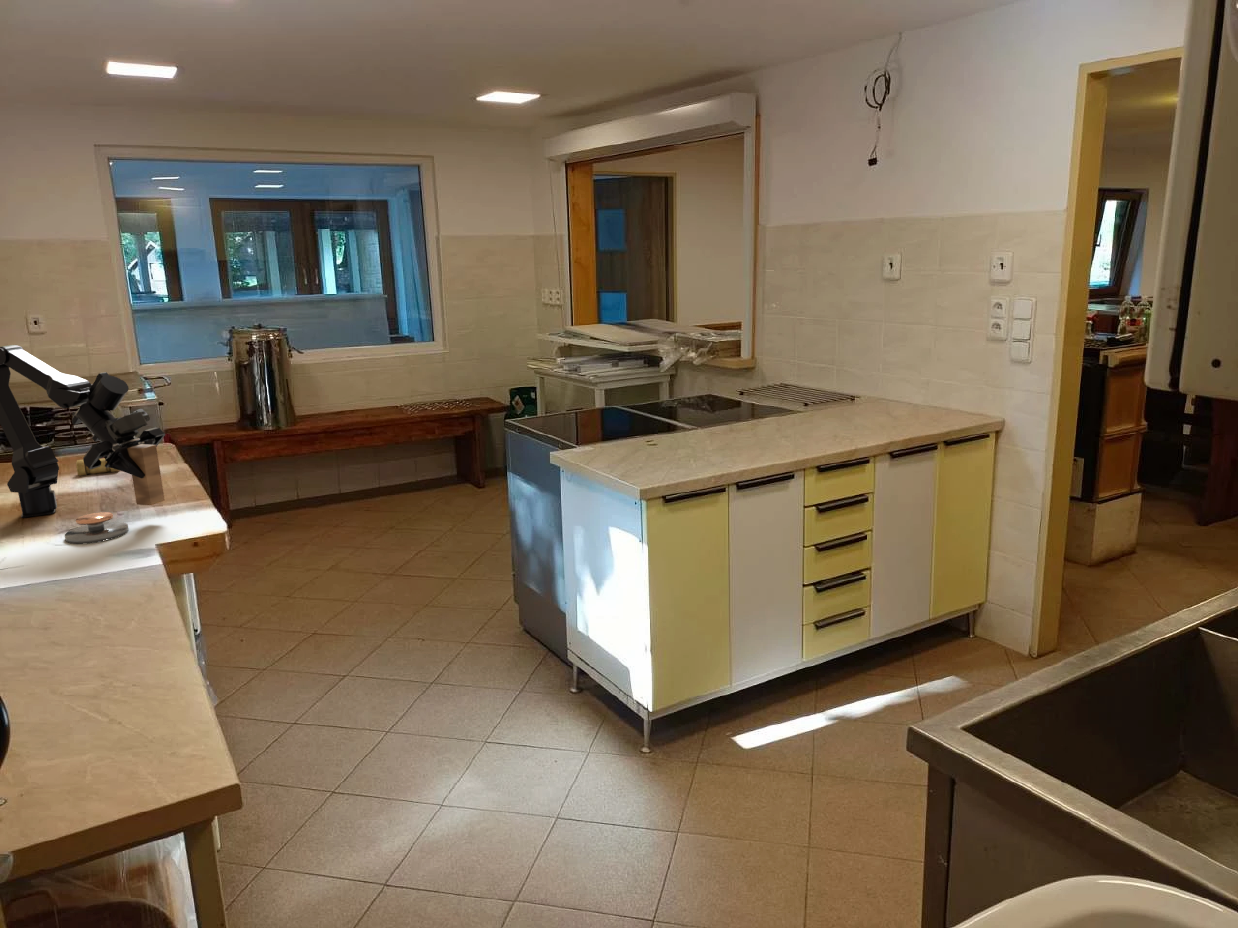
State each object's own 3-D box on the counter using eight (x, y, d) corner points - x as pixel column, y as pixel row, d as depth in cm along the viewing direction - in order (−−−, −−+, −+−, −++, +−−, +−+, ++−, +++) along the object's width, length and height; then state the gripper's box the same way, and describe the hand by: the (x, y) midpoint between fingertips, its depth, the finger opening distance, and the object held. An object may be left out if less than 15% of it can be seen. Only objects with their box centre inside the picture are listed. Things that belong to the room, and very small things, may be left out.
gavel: (86, 450, 262) (124, 446, 265) (89, 465, 262) (127, 461, 266) (75, 461, 243) (116, 457, 246) (77, 477, 243) (119, 473, 247)
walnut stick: (136, 504, 199) (127, 448, 195) (150, 499, 202) (141, 444, 199) (151, 505, 198) (142, 448, 194) (164, 500, 201) (155, 444, 198)
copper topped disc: (63, 547, 185) (59, 529, 184) (67, 531, 195) (64, 514, 194) (128, 537, 190) (125, 519, 189) (128, 522, 201) (126, 505, 200)
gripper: (84, 407, 187) (135, 461, 186) (152, 392, 204) (198, 441, 204) (61, 442, 191) (111, 494, 190) (129, 425, 208) (175, 472, 208)
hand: (151, 474), depth 198 cm, fingers closed on walnut stick, 4 cm apart
